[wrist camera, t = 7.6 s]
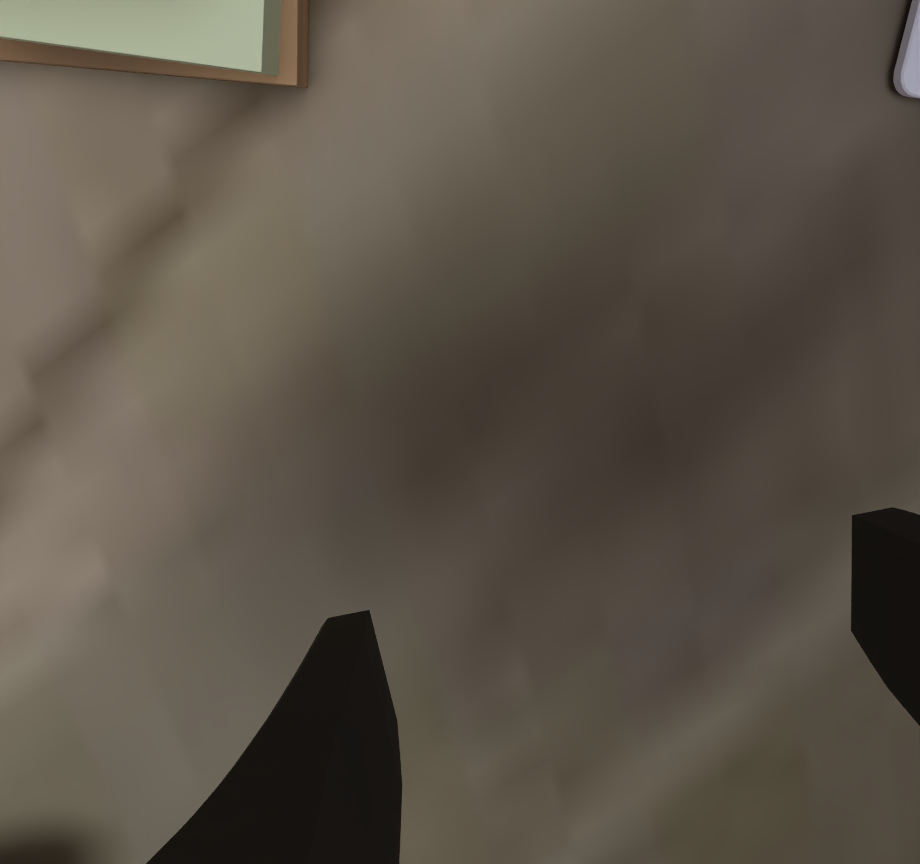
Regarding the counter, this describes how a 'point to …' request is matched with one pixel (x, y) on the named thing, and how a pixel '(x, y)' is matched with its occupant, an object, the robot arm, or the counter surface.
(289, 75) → the walnut slab
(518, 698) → the counter surface
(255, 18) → the sage block
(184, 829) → the robot arm
